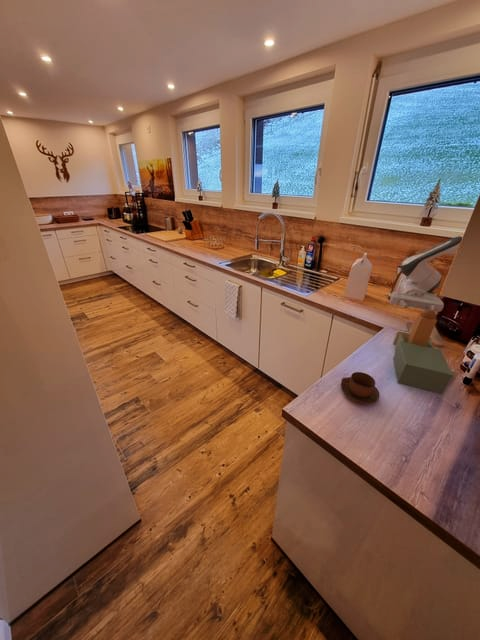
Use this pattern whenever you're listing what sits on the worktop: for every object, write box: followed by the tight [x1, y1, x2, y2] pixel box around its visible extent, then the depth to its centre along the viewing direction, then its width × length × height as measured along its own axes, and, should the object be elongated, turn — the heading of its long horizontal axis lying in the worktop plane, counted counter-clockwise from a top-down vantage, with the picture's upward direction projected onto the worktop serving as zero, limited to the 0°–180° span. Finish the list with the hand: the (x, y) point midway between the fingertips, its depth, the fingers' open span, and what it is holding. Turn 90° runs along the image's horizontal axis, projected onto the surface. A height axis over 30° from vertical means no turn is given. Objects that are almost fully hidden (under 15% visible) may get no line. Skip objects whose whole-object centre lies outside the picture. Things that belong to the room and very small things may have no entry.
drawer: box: [391, 329, 435, 351], centre depth 107 cm, size 19×12×7 cm, turn 158°
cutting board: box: [406, 321, 446, 349], centre depth 123 cm, size 12×18×2 cm, turn 158°
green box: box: [392, 341, 454, 395], centre depth 95 cm, size 16×14×9 cm
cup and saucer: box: [340, 371, 381, 405], centre depth 87 cm, size 12×12×6 cm
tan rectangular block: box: [407, 309, 438, 346], centre depth 102 cm, size 5×5×20 cm
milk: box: [342, 252, 373, 302], centre depth 157 cm, size 12×12×26 cm
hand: (418, 308), depth 110 cm, fingers open, 8 cm apart
